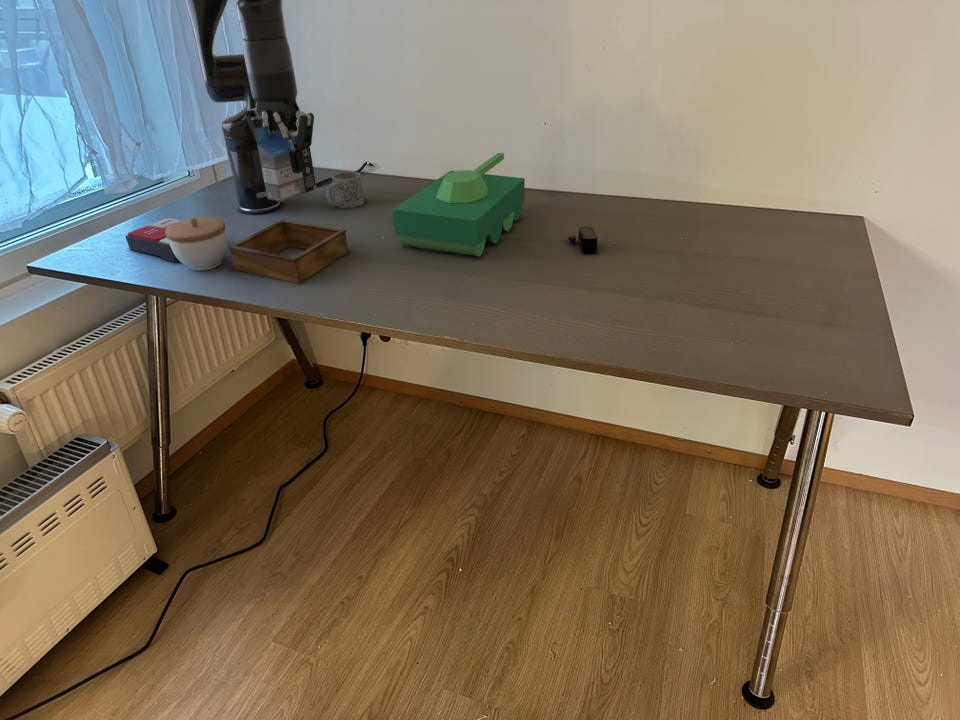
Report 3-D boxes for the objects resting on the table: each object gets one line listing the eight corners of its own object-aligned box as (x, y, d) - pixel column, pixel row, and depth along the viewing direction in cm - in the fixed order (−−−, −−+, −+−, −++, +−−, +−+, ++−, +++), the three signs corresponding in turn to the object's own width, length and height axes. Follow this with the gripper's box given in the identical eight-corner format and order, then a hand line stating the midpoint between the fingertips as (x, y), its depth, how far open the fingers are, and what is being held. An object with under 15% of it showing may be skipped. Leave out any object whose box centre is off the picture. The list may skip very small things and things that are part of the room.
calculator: (168, 215, 143) (214, 223, 136) (174, 234, 145) (220, 243, 138) (122, 232, 135) (169, 242, 128) (129, 252, 138) (176, 262, 131)
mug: (350, 196, 163) (346, 169, 159) (369, 201, 159) (366, 174, 156) (319, 208, 156) (315, 180, 152) (339, 213, 152) (335, 185, 149)
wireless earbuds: (590, 240, 135) (591, 225, 134) (597, 254, 129) (598, 238, 128) (567, 241, 135) (568, 226, 134) (573, 255, 129) (574, 239, 128)
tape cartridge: (282, 203, 117) (268, 131, 111) (266, 199, 119) (252, 129, 113) (317, 189, 124) (306, 120, 117) (302, 186, 126) (290, 118, 119)
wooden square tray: (287, 240, 139) (283, 219, 137) (349, 251, 133) (346, 229, 131) (233, 269, 127) (228, 246, 125) (299, 283, 122) (294, 259, 119)
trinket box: (244, 256, 133) (234, 211, 128) (210, 278, 124) (198, 231, 119) (199, 250, 136) (187, 206, 131) (164, 272, 127) (149, 225, 122)
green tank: (536, 151, 148) (475, 201, 121) (535, 204, 155) (477, 263, 127) (464, 145, 154) (390, 190, 127) (465, 196, 160) (396, 250, 133)
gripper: (318, 66, 110) (333, 169, 119) (253, 62, 116) (272, 161, 125) (288, 73, 105) (306, 181, 114) (221, 69, 110) (244, 172, 119)
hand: (288, 170), depth 119 cm, fingers closed on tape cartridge, 4 cm apart
